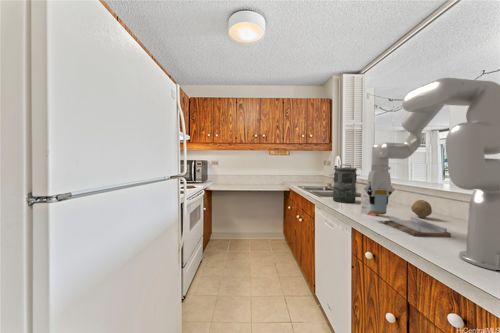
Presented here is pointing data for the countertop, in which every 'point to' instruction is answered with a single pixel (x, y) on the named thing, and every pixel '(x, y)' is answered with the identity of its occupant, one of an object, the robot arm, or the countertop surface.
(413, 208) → the natural sponge
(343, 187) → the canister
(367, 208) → the ink cartridge box
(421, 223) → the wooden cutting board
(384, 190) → the bottle
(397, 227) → the walnut board
